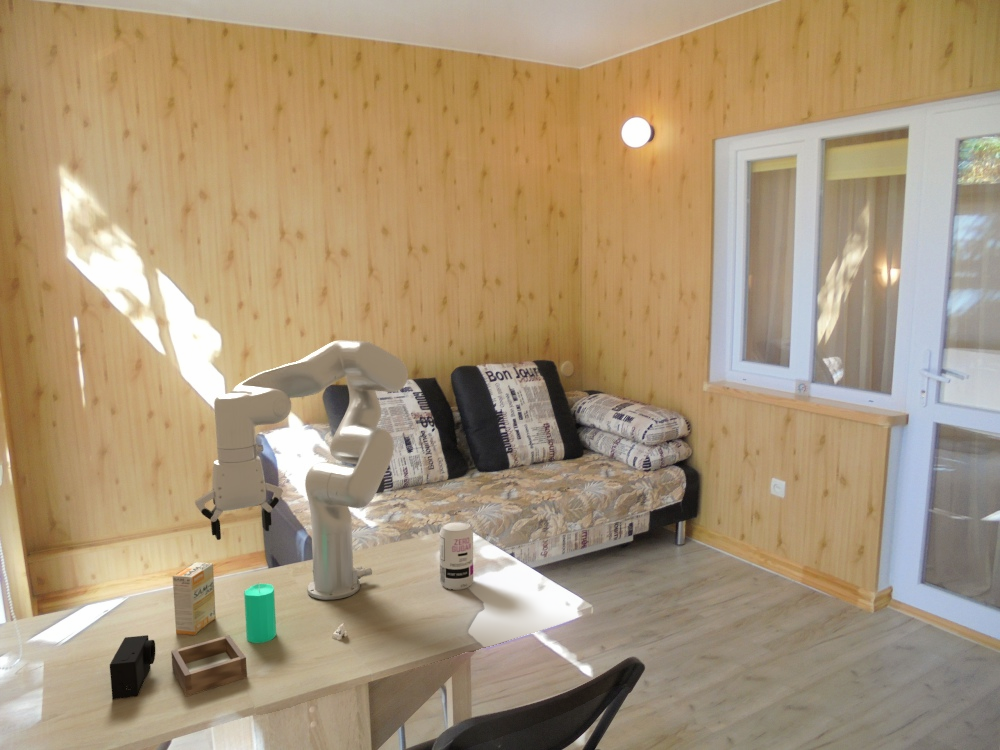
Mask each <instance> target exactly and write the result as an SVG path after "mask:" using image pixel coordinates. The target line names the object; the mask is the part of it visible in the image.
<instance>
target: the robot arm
mask: <svg viewBox="0 0 1000 750" xmlns="http://www.w3.org/2000/svg"><path fill="white" fill-rule="evenodd" d="M344 377H345V382H346V385H347V389H348V394H349V395H348V396H349V401H348V402H349V403H348V406H347V408H346V411H345V414H344V416H343V418H342V419H341V421H340V423H339V425H338V427H337V429H336V431H335V433H334V435H333V437H332V440H331V441H330V446H329V450H330V451H329V453H330V454H331V456H332V457H333V458H334V459H335V460H338V461H339V462H343V463H347V464H343V463H338V462H332V461H331V462H330V461H323V462H318V463H316V464H314V465H313V466H311V468H310V469H309V470H308V472H307V473H306V477H305V480H304V481H305V483H304V484H305V485H304V486H305V493H306V497H307V500H308V505H309V510H310V522H311V548H312V550H311V551H312V573H313V574H312V575H313V580H312V581H310V582H309V583H308V585H307V586H306V589H307V590H306V591H307V595H309V596H310V597H312V598H314V599H317V600H324V601H325V600H326V601H329V600H339V599H345V598H348V597H351V596H352V595H354V594H356V593H357V592H358V591H359V590H360V588H361V582H360V579H361V578H362V577H367V576H371V575H372V574H373V570H372V567H370V566H369V567H365V568H363V566H361V565H360V566H355V567H354V553H353V549H354V548H353V521H352V515H351V510H350V508H352V509H353V508H354V509H361V508H364V507H367V506H368V505H369V504H370V503H371V502H372V500H373V499H374V498H375V496H376V494H377V492H378V490H379V487H380V486H381V483H382V480H384V477H385V474H386V473H387V470H388V468H389V466H390V463H391V461H392V459H393V454H394V446H395V445H394V439H393V436H392V435H391V433H390V432H389V431H387V430H386V429H384V428H381V427H378V424H379V423H380V422H379V421H380V420H381V417H382V406H381V404H380V401H379V399H378V398H379V397H378V396H377V392H386V393H395V392H399V391H401V390H402V389H403V388H404V387H405V386H406V384H407V382H408V377H409V372H408V369H407V366H406V363H404V361H403V360H402V359H401V358H400V357H398V356H396V355H394V354H392V353H391V352H389V351H388V350H385V349H384V348H382V347H380V346H379V345H377V344H375V343H372V342H370V341H366V340H365V341H363V340H349V339H348V340H347V339H340V340H339V339H337V340H334V341H332V342H330V343H328V344H326V345H324V346H323V347H321V348H319V349H318V350H316V351H313V352H312V353H310V354H309V355H306V356H305V357H303V358H302V359H300V360H298V361H296V362H291V363H288V364H287V363H286V364H284V365H281V366H279V367H276V368H273V369H269V370H264V371H262V372H259V373H257V374H255V375H253V376H251V377H249V378H247V379H246V380H244V381H241V382H240V383H239V384H237V385H235V387H234V388H232V389H231V391H229V393H224V394H221V395H218V396H217V397H216V398H215V399H214V402H213V403H214V406H213V407H214V420H215V435H216V451H217V459H216V460H215V461H213V467H212V479H211V482H212V484H211V485H212V486H211V487H212V488H211V489H212V490H210V491H208V492H206V493H205V494H203V495H202V496H200V497H199V498H198V499H196V500H195V501H194V504H195V506H196V508H197V509H198V510H199V512H200V513H201V514H202V515H203V517H205V518H207V520H208V519H209V520H210V525H211V526H210V527H211V534H212V536H215V538H216V540H217V541H220V540H221V539H222V535H221V534H222V532H221V531H222V530H221V521H220V520H219V518H220V516H221V515H222V513H224V512H229V511H235V510H240V509H241V510H242V509H245V508H252V507H257V506H260V507H262V510H261V522H262V528H263V530H264V531H266V532H269V531H270V526H272V512H273V509H274V508H275V507H276V506H277V505H278V503H279V501H280V499H281V496H282V494H283V493H284V491H283V490H284V489H283V488H282V487H280V486H277V485H274V484H271V483H268V482H265V474H264V469H263V464H262V461H261V457H260V456H259V455H258V454H259V453H260V452H264V445H263V444H257V441H256V427H257V426H267V425H268V426H269V425H275V424H279V423H281V422H283V421H284V420H286V418H287V417H289V415H290V412H291V411H292V402H291V401H292V400H291V399H294V398H305V397H310V396H314V395H316V394H320V393H321V392H322V391H324V390H325V389H327V388H328V387H330V386H331V385H333V384H334V383H337V381H340V380H342V378H344ZM348 464H349V465H348ZM351 464H353V465H351ZM267 491H268V492H271V493H273V495H272V497H271V498H270V499H269V500H268V501H267ZM211 500H212V502H213V505H214V507H213V508H212V509H211V510H210V509H209V508H207V507H206V506H205V504H206V503H208V502H210V501H211Z"/></svg>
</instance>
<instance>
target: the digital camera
mask: <svg viewBox="0 0 1000 750" xmlns="http://www.w3.org/2000/svg"><path fill="white" fill-rule="evenodd" d="M155 659H156V641H155V639H149V635H148V634H147V635H145V634H144V635H136V636H126V637H124V638H123V641H121V643H120V646H119V647H118V648H117V651H116V653H115V654H114V656H113V658H112V660H111V661H110V663H109V672H110V673H109V675H110V685H111V688H110V689H111V697H112V700H119V699H130V698H136V697H139V694H140V692H141V691H142V690H141V689H142V687H143V686H144V683H145V681H146V679H147V678H148V677H147V676H148V674H149V672H150V670H151V665H153V664H154V662H155Z"/></svg>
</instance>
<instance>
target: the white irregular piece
mask: <svg viewBox="0 0 1000 750" xmlns="http://www.w3.org/2000/svg"><path fill="white" fill-rule="evenodd" d="M347 635H348V631H346V626H345V623H344V622H342V623H341V624H339V626H338V627H337V628H336V630H335V631H334V632H333V634H332V636H331V639H336V640H338V641H340V640H342V637H343V636H344V638H345V637H347Z"/></svg>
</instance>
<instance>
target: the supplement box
mask: <svg viewBox="0 0 1000 750" xmlns="http://www.w3.org/2000/svg"><path fill="white" fill-rule="evenodd" d="M214 575H215V574H214V563H210V562H196V561H195V562H193V563H191V564H190V565H189V566H187V567H185V568H184V569H182V570H181V571H179V572H177V573H176V574H173V575H172V586H173V587H172V588H173V603H174V620H175V633H176V634H181V635H190V636H195V635H196V634H198V632H200V631H201V630H202V629H204V628H205V627H206V626H207V625H209V624H210V623H211V622H213V621H214V620H215V619H217V617H216V616H217V615H216V599H215V598H216V596H215V578H214V577H215V576H214Z"/></svg>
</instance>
